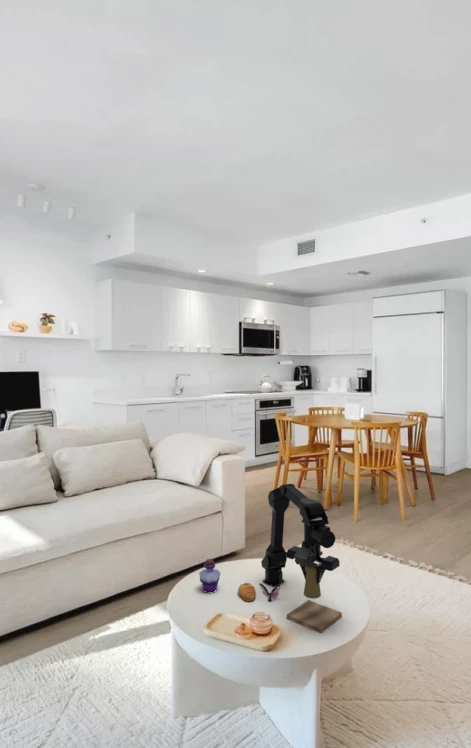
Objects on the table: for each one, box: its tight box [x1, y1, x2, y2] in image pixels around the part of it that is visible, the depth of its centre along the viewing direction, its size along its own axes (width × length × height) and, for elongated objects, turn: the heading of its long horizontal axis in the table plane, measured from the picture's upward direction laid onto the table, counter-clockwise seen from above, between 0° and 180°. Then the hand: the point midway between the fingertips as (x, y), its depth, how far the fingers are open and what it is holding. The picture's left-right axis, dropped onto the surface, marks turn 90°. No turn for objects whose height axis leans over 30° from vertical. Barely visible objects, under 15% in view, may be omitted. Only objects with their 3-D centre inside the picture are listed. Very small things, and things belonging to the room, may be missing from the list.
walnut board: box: [286, 599, 343, 634], centre depth 177 cm, size 14×14×2 cm
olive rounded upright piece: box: [303, 562, 322, 599], centre depth 177 cm, size 6×6×11 cm
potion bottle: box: [198, 558, 221, 593], centre depth 199 cm, size 9×9×12 cm
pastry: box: [237, 582, 257, 602], centre depth 193 cm, size 9×7×4 cm
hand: (312, 581), depth 177 cm, fingers closed on olive rounded upright piece, 4 cm apart
